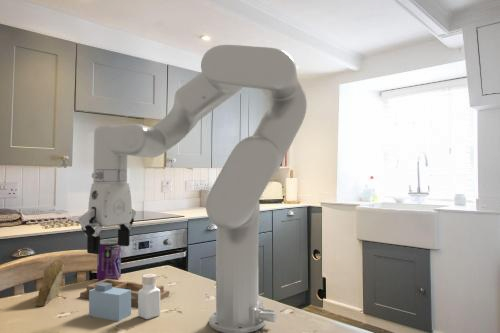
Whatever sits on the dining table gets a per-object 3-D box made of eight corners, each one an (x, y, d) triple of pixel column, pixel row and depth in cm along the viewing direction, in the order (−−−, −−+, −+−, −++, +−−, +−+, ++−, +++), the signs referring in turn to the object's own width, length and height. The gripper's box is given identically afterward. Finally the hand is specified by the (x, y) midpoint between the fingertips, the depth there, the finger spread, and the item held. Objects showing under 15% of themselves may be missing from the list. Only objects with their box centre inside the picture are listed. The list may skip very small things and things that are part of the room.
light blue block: (131, 315, 86) (131, 284, 86) (119, 321, 82) (119, 289, 82) (101, 310, 89) (101, 280, 90) (89, 316, 86) (89, 285, 86)
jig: (169, 295, 100) (169, 285, 100) (146, 307, 90) (146, 296, 91) (107, 286, 108) (107, 277, 108) (80, 297, 99) (80, 286, 99)
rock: (49, 300, 90) (78, 283, 99) (30, 272, 91) (61, 258, 100) (25, 321, 93) (56, 302, 103) (6, 294, 94) (39, 278, 103)
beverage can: (112, 283, 111) (112, 244, 112) (92, 282, 113) (92, 243, 113) (125, 277, 118) (125, 240, 118) (105, 275, 120) (105, 239, 120)
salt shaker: (136, 316, 85) (137, 275, 85) (151, 311, 88) (151, 272, 88) (146, 320, 82) (146, 278, 83) (161, 315, 86) (161, 275, 86)
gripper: (94, 178, 77) (93, 258, 77) (146, 177, 93) (145, 244, 93) (68, 177, 80) (67, 255, 80) (123, 177, 96) (122, 242, 96)
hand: (109, 249), depth 86 cm, fingers open, 9 cm apart
